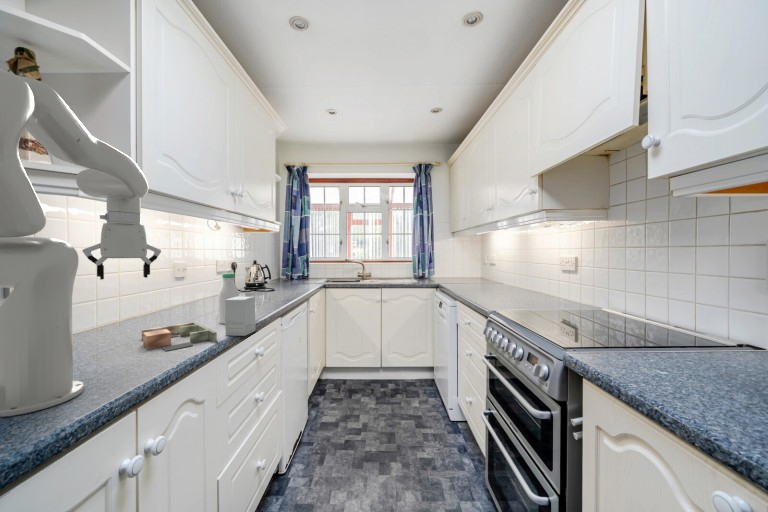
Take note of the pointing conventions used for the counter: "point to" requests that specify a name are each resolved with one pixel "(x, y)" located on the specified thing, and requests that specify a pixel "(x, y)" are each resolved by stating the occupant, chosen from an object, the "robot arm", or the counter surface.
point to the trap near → (177, 346)
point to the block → (156, 338)
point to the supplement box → (239, 316)
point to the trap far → (174, 335)
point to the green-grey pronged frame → (189, 331)
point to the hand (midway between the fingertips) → (124, 278)
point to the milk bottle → (226, 294)
